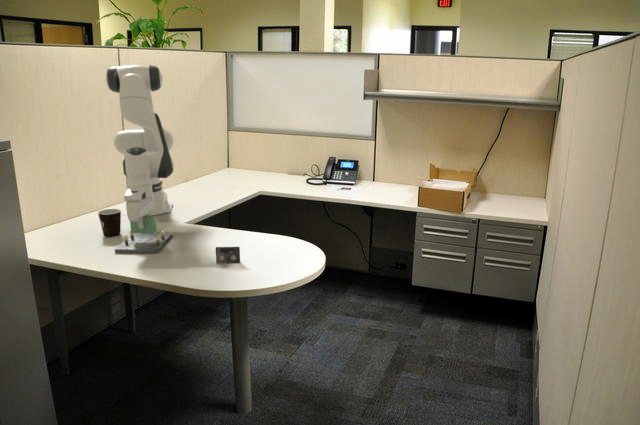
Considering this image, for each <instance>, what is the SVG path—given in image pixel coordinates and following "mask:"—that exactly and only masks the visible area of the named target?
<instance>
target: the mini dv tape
mask: <svg viewBox="0 0 640 425" xmlns="http://www.w3.org/2000/svg"><path fill="white" fill-rule="evenodd" d="M240 254H241V250H240V246H216V247H215V264H216V265H223V264H225V265H226V264H229V265H230V264H231V265H232V264H235V265H237V264H240V263H241V255H240Z"/></svg>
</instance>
